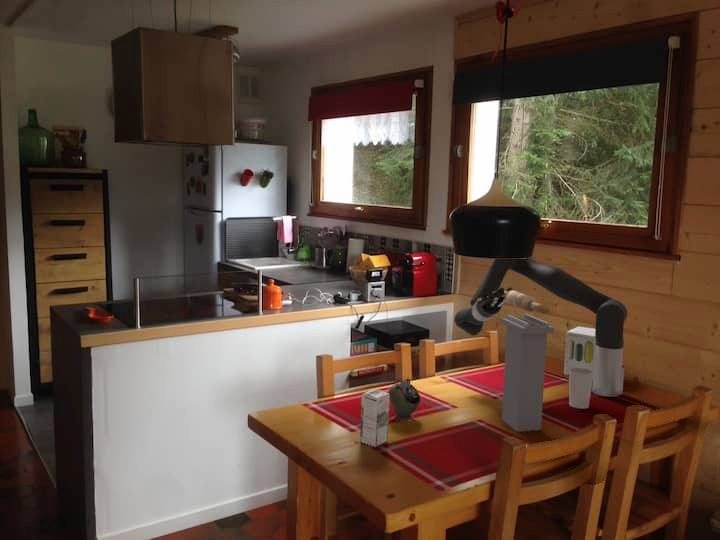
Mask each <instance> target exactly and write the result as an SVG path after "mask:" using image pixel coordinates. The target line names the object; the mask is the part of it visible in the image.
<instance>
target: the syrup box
mask: <svg viewBox="0 0 720 540" xmlns="http://www.w3.org/2000/svg"><path fill="white" fill-rule="evenodd" d="M389 398H390V394H389V392H386V391H384V390H380V389H372V390H369V391H366V392H363V393H361V406H360V407H361V408H360V429H359V430H360V432H359V433H360V434H359V442H360V443H361V442H362V444H364V443H365V445H367V444H368V445H367V446H370V445H371V446H370V447H373V446H374V447H373V448H377V447H379V446H381V445H383V444H385V443H388V439H389V419H390V417H389V416H390V399H389Z"/></svg>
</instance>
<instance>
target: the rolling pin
mask: <svg viewBox="0 0 720 540" xmlns="http://www.w3.org/2000/svg"><path fill="white" fill-rule="evenodd" d="M505 290H506V289H504V294H503V295H502V296H501V297H504V298H506V301H507V302H506V303H508V304H509V305H512V306H514V307H518V308H519V309H521V310H524V311H525V312H526V311H527V312H531V313H532V312H534V311H536V312H539V313H541V314H544V315H549V313H550V312H551V311H550V310H551V309H550V307H549V306H547V305H544V304H541V303H538V300H537V299H536V298H535V297H533V296H532V295H527V294H525V293H523V292H520V291H518V290H514V289H512V290H511V291H509V292H507V291H505Z"/></svg>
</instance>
